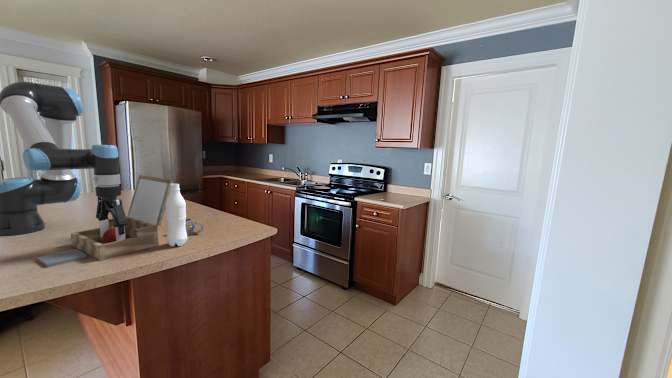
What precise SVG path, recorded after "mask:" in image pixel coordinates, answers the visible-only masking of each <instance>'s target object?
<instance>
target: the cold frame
mask: <svg viewBox="0 0 672 378" xmlns="http://www.w3.org/2000/svg"><path fill="white" fill-rule="evenodd" d="M125 216H126V215H125ZM126 219H127V222H128V224H127V225H125V236H127V237H130V238H126V239H124V240H120V241H116V242H111V243H107V244H106V243H100V242H99V241H103V237H101V236H100V227H97V228H90V229H87V230H80V231H75V232H71V233H70V238H71V239H70V240H71V246H72V247H74V248H75V249H77V250H79V251H81V252H83V253H85V254H86V255H89V256H91V257H93V258H95V259H97V260H99V261H103V260H106V259H107V260H108V259H110V258H115V257H119V256H122V255H125V254H129V253H134V252H137V251H141V250H144V249H148V248H152V247H156V246H159V229H158V228H159V226H157V225H154V224H151V223H147V222H144V221H141V220H138V219H135V218H131V217H128V215H127V216H126ZM106 220H108V224H109V228H110V227H111V226H115V225H116V224H115V221H114V219H113V218H108V219H106ZM114 228H115V227H114Z"/></svg>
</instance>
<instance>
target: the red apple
mask: <svg viewBox="0 0 672 378" xmlns="http://www.w3.org/2000/svg"><path fill="white" fill-rule="evenodd" d="M102 241H103V242H104V244H107V243H111V242H116V231H115V228H114V226H111V227H110V228H109V229H108V230H107V231H106V232H105V233H104V234H103V240H102Z"/></svg>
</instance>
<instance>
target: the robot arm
mask: <svg viewBox="0 0 672 378" xmlns="http://www.w3.org/2000/svg"><path fill="white" fill-rule="evenodd" d="M0 108H1V109H2V111H3V112H4V113H5V114H8V115H9V117H10V119H11V120H12V122H13V124H14V126H15V128H16V130H17V132H18V133H19V135H20V137H21V139H22V141H23V142H24V145H25V147H26V149H24V150H23V153H22V159H23V160H22V161H23V162H24V166H25V168H26V169H28V170H29V171H42V172H43V171H44V172H43V173H41V174H40V178H39V179H35V178H34V177H33V176H20V177H19V176H18V177H11V178H4V179H0V236H16V235H23V234H29V233H36V232H38V231H41V230H43V229H45V228H46V225H45V224H46V223H45V220H43V218H42V216H41V215H40V213H39V210H38V206H42V205H52V204H60V203H61V204H62V203H63V204H65V203H69V202H74V201H76V200H77V199H79V198H80V196H81V193H82V182H81V180H80V179H79V177H76V174H75V173H73V171H72V170H91V169H92V170H93V178H92V179H93V181H94V184H95V186H96V187H95V188H94V189H95V196H96V197H97V205H96V212H95V218H96V219H97V220H98V221H99V222H98V224H99V228H100V236H101V237H103V234H104V233H105V232H106V231H107V230H108V229H109V224H108V220H107V219H109V213H110V214H111V217H112V219H114V221H115V224H116V225H115V226H114V227H115V231H116V241H120V240H124V239H127V237H126V235H125V225H127V224H128V222H127V219H126V212H125V210H124V206H123V200H122V199H121V198H120V199H118V198H117V197H119V196H121V195H122V187H121V184H122V181H121V174H120V161H119V151H118V147H117V146H116V145H115V144H93V145H92V146H91V148H89V149H88V148H86V149H84V148H83V149H80V148H78V149H76V148H72V146H73V145H72V144H73V143H72V142H73V141H72V140H73V138H72V137H73V136H72V135H73V134H72V132H73V131H72V130H73V123H75V122H77V117H81V116H82V115H83V112H84V107H83V102H82V99H81V97H80V95H79V94H78V92H77V91H76V90H74V89H72V88H67V87H64V86H59V85H58V86H57V85H50V84H44V83H37V82H30V81H17V82H13V83H11V84H8V85H6V86H4V87H3V89H2V90H1V91H0ZM43 120H44V121H43Z"/></svg>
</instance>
